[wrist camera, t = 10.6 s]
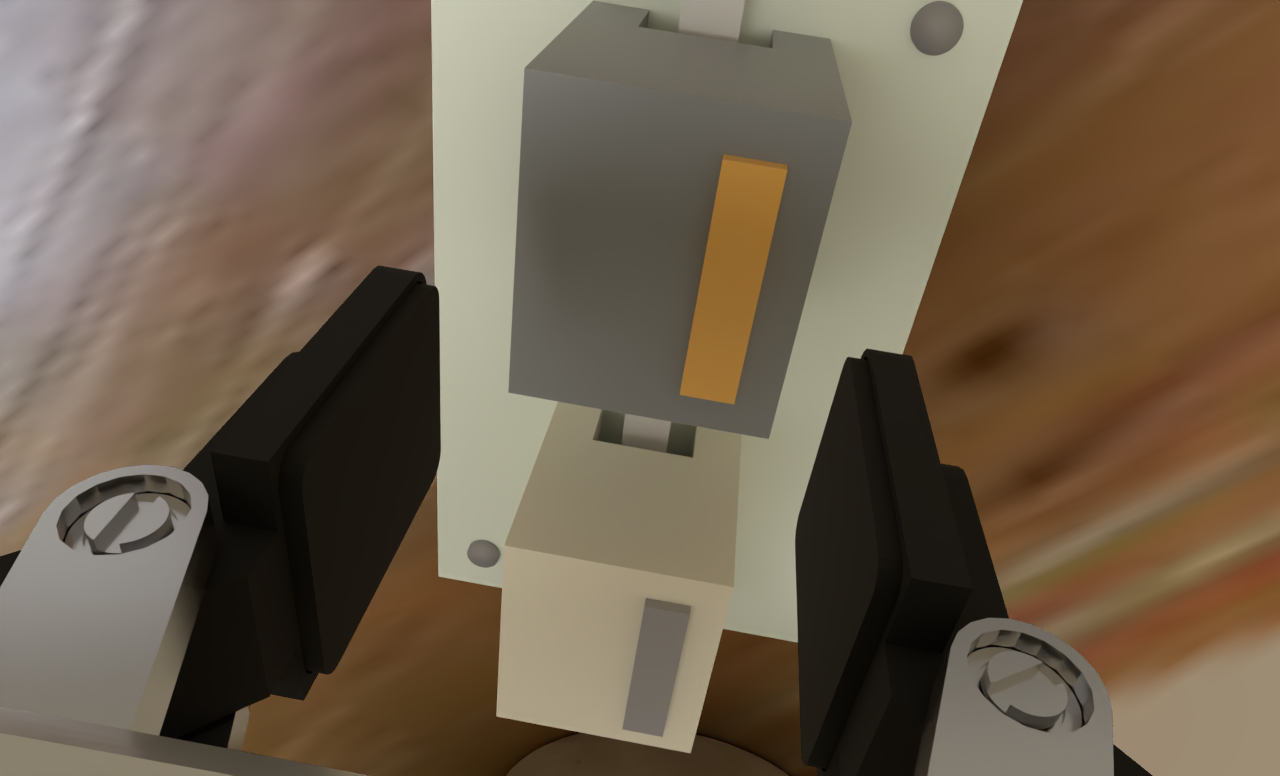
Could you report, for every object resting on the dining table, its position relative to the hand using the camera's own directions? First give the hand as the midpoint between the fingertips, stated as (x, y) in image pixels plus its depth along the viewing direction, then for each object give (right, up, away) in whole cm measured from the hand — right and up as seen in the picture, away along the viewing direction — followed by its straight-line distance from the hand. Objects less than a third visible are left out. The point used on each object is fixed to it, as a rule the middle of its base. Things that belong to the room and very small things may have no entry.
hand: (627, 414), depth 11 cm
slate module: (+1, +6, +8) cm, 10 cm away
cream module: (0, -3, +14) cm, 14 cm away
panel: (+1, +2, +12) cm, 12 cm away
